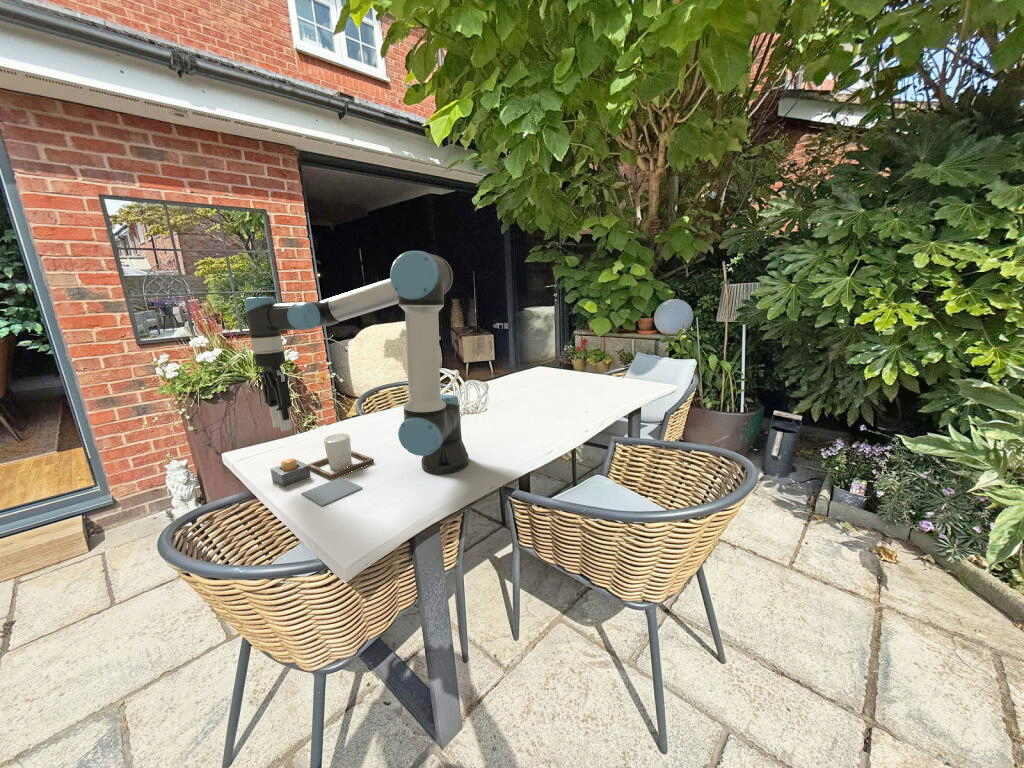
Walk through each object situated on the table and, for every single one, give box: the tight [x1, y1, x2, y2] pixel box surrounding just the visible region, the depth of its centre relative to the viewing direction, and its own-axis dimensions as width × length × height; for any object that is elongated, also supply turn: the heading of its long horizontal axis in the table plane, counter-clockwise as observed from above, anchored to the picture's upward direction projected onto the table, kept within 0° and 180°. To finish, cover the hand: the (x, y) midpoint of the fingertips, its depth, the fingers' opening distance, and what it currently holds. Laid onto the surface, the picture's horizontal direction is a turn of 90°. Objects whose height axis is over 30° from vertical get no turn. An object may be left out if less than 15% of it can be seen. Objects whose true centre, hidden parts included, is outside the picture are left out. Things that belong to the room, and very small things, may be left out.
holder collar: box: [307, 450, 375, 481], centre depth 131 cm, size 15×15×2 cm
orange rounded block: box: [280, 458, 297, 472], centre depth 122 cm, size 4×4×4 cm
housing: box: [270, 459, 311, 488], centre depth 123 cm, size 8×8×4 cm
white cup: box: [323, 433, 353, 471], centre depth 130 cm, size 8×8×10 cm
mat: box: [300, 476, 363, 508], centre depth 114 cm, size 12×12×1 cm
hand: (282, 428), depth 120 cm, fingers open, 5 cm apart
